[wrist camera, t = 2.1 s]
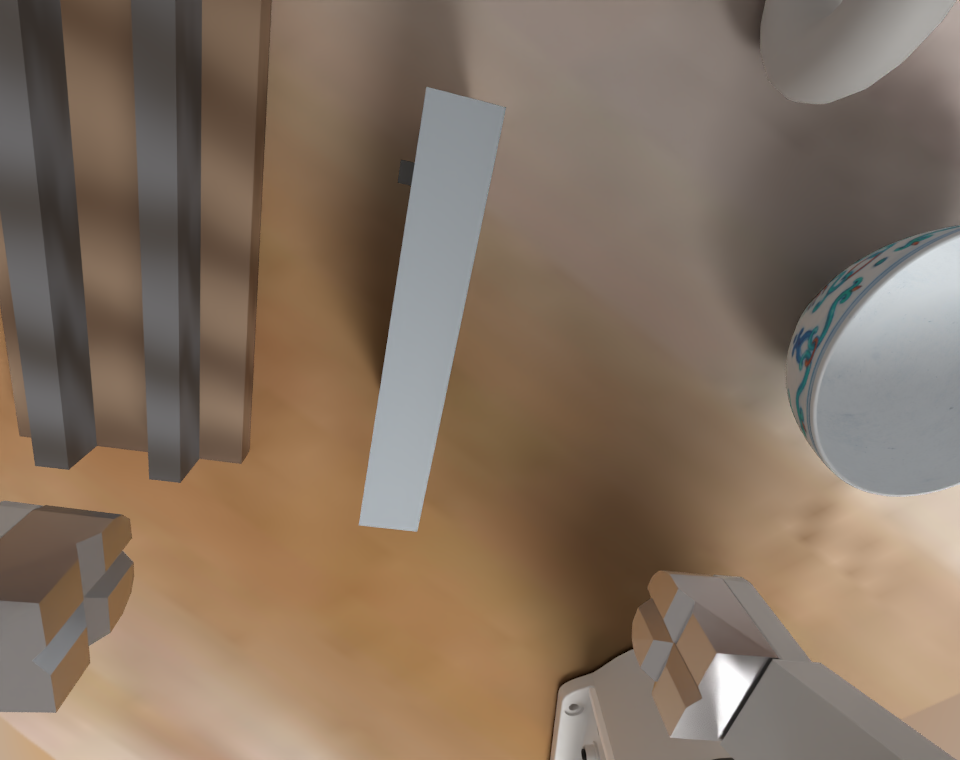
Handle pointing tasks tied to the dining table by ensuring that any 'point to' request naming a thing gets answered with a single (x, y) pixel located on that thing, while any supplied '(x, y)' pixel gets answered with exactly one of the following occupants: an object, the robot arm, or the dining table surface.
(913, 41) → the donut
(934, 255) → the chinaware
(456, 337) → the door panel
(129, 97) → the track base
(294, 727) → the dining table surface
